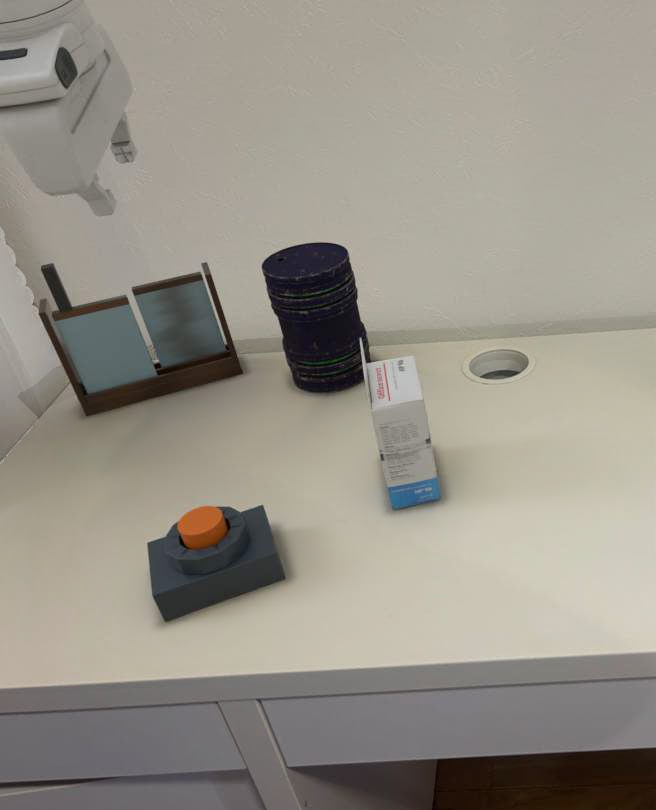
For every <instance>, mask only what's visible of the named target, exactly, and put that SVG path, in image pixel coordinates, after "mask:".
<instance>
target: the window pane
mask: <svg viewBox="0 0 656 810" xmlns="http://www.w3.org/2000/svg"><path fill="white" fill-rule="evenodd" d="M40 271H41V274H42V276H43V278H44V280H45V282H46V285H47V287H48V289H49V291H50V293H51V296H52V298H53V300H54V302H55V305H56V307H57V309H56V310H52V314H51V315H52V317H53V320H54V322H55V324H56V326H57V328H58V330H59V332H60V335H61V337H62V339H63V341H64V343H65V346H66V348H67V350H68V352H69V354H70V356H71V359H72V361H73V363H74V365H75V367H76V370H77V372H78V374H79V376H80V378H81V380H82V383H83V385H84V387H85V389H86V391H87V394H91V393H95V392H99V391H103V390H106V389H110V388H114V387H118V386H122V385H125V384H129V383H133V382H137V381H140V380H144V379H148V378H152V377H155V376H158V374H157V371H156V369H155V366H154V364H153V363H154V362H153V359H152V356H151V354H150V351H149V348H148V346H147V344H146V341H145V339H144V336H143V334H142V331H141V328H140V326H139V323H138V320H137V318H136V315H135V313H134V310H133V308H132V306H131V303H130V299H129V298H128V295H127V294H122V295H118V296H113V297H109V298H105V299H100V300H96V301H91V302H87V303H83V304H77V305H73V304H72V303H71V300H70V298H69V296H68V294H67V291H66V288H65V286H64V285H63V282H62V280H61V278H60V276H59V274H58V271H57V268H56V266H55V264H54V263H53V262H51V263H47V264H42V265H41V266H40Z"/></svg>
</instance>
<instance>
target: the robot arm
mask: <svg viewBox="0 0 656 810" xmlns="http://www.w3.org/2000/svg"><path fill="white" fill-rule="evenodd" d="M93 17H94V16H93V15H92V13H91V10H90V9H89V6H88V4H87V2H86V0H0V133H1V135H2V137H3V139H4V140H5V142H6V143H7V145H8V147H9V148H10V150H11V152H12V153H13V155H14V156H15V158H16V160H17V161H18V163H19V164H20V166H21V167H22V169H23V171H24V172H25V174H26V175H27V177H28V178H29V179H30V180H31V182H32V183H33V184H34V186H35V187H36V188H37V189H38V190H39V191H41V192H43V193H44V194H46V195H48V196H51V197H59V196H67V195H74V194H76V195H77V196H78V197H80V198H81V199H82V200H84V201H85V202H86V203H87V204H88V206H89V208H90V210H91V211H92V214H94V215H95V216H96V217H107V216H112V215H113V214H114V213H115V210H116V207H117V205H118V202H117V200H116V198H115V197H114V194H113V192H112V191H111V189H110V188H108V189H105V188H104V187H103V186H102V185H101V184H100V183H99V181H100V177H99V175H98V174H97V171H98V169H99V167H100V164H101V162H102V160H103V158H104V156H105V153H106V152H107V150H108V147H109V145H110V143H111V145H110V147H109V149H110V151H111V153H112V154H113V156H114V159H115V160H116V162H118V163H119V164H127V163H134V161H135V159H136V158H137V155H138V149H137V147H136V145H135V143H134V141H133V138H132V133H131V127H130V124H129V119H128V114H127V113H126V111H125V109H126V107H127V105H128V103H129V101H130V98H131V96H132V94H133V92H134V91H133V83H132V79H131V76H130V74H129V72H128V69H127V68H126V66H125V64H124V62H123V60H122V58H121V56H120V54H119V52H118V50H117V48H116V47H115V45H114V43H113V41H112V40H111V37H110V36H109V34H108V32H107V31H106V30H105V28H104V27H103V25H102V24H101V23H100V22H98V21H95V19H94V18H93Z"/></svg>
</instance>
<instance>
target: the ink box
mask: <svg viewBox="0 0 656 810" xmlns="http://www.w3.org/2000/svg"><path fill="white" fill-rule="evenodd" d="M360 347H361V355H362V363H363V372H364V384H365V390H366V395H367V400H368V401H367V402H368V406H369V412H370V417H371V421H372V425H373V430H374V434H375V438H376V444H377V447H378V452H379V456H380V462H381V466H382V471H383V476H384V481H385V484H386V487H387V493H388V497H389V503H390V507H391V509H392V510H398V509H403V508H406V507H407V508H408V507H412V506H415V505H421V504H425V503H429V502H433V501H434V502H435V501H439V500H440V499H441V493H440V486H439V480H438V474H437V467H436V461H435V455H434V450H433V444H432V436H431V432H430V425H429V420H428V414H427V409H426V402H425V397H424V392H423V388H422V383H421V378H420V375H419V370H418V366H417V362H416V359H415V356H414V355H407V356H402V357H396V358H390V359H384V360H379V361H373V362H372V363H367V364H366V360H365V355H364V349H363V344H362V339H361V338H360Z"/></svg>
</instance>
